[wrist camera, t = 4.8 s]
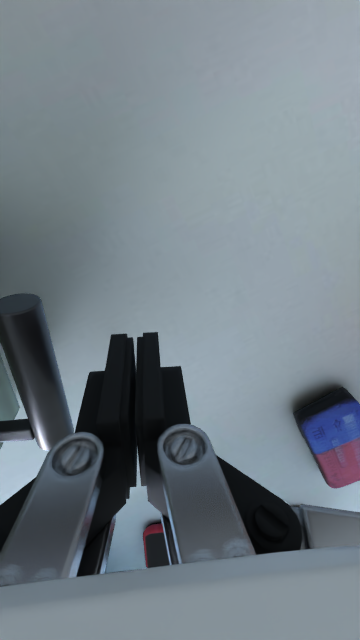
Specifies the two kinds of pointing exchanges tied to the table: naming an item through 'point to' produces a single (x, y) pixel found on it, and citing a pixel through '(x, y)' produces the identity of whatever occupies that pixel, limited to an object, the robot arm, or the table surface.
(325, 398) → the eraser
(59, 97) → the table surface
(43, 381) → the drawer
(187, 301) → the table surface
